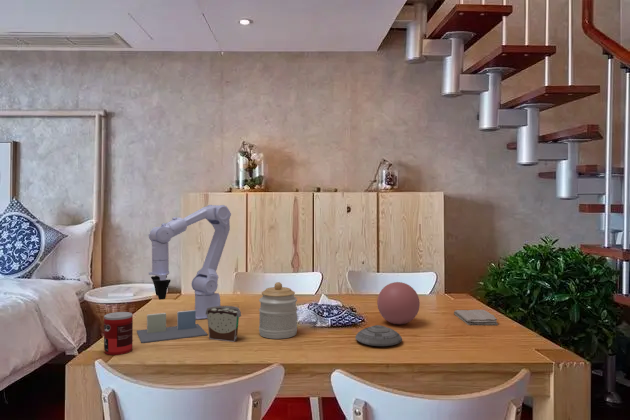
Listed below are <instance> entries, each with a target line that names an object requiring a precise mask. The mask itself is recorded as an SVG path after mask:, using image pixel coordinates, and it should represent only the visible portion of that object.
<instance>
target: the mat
mask: <svg viewBox="0 0 630 420" xmlns="http://www.w3.org/2000/svg"><path fill="white" fill-rule="evenodd" d="M136 334H137V336H138V339H139V341H140V343H141V344H145V343H147V344H149V343H153V342H154V343H155V342H164V341H172V340H173V341H174V340H179V339H181V340H182V339H189V338H197V337H205V336H209V333H207V332H206V331H205V330H204V329H203V328H202V326H200V324H199V323H196V328H190V329H181V330H178V329H177V325H174V326H166V331H163V332H154V333H147V328H145V329H138V330H136Z"/></svg>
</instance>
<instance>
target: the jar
mask: <svg viewBox="0 0 630 420" xmlns="http://www.w3.org/2000/svg"><path fill="white" fill-rule="evenodd" d="M295 293H296V292H295V291H294V290H292V289H291V288H289V287H284V286H283V284H282V282H280V281H279V282H275V283H274V287H267V288H266V289H265V290H263V291H261V295H262V297H260V298H259V299H258V301H259V303H260V308H258V311H259V326H258V333H259V335H260V336H261V337H263V338H265V339H271V340H273V339H275V340H276V339H279V340H280V339H288V338H292V337H294V336H296V335H297V331H298V323H297V322H298V317H297V316H298V308H297V304H296V303H297V302H298V298H297V296H295Z"/></svg>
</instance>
